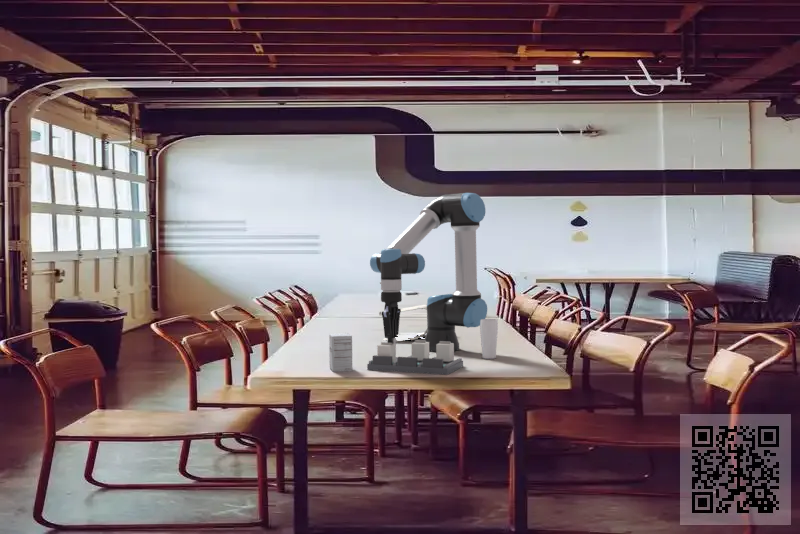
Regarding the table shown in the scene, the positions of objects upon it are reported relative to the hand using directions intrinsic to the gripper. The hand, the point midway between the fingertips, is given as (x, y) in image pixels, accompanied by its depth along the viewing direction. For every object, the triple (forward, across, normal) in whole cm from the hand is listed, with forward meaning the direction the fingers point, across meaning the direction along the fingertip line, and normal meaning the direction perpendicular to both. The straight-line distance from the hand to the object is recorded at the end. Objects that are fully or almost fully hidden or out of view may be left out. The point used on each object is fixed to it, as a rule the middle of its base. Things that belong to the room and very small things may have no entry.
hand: (391, 355), depth 274 cm
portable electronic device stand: (+4, -77, -23) cm, 80 cm away
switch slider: (+1, -4, +19) cm, 20 cm away
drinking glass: (+4, -30, +28) cm, 41 cm away
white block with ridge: (+1, -4, +9) cm, 11 cm away
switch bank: (+4, 0, +10) cm, 10 cm away
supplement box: (+4, +12, -14) cm, 20 cm away
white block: (+1, +5, 0) cm, 5 cm away
